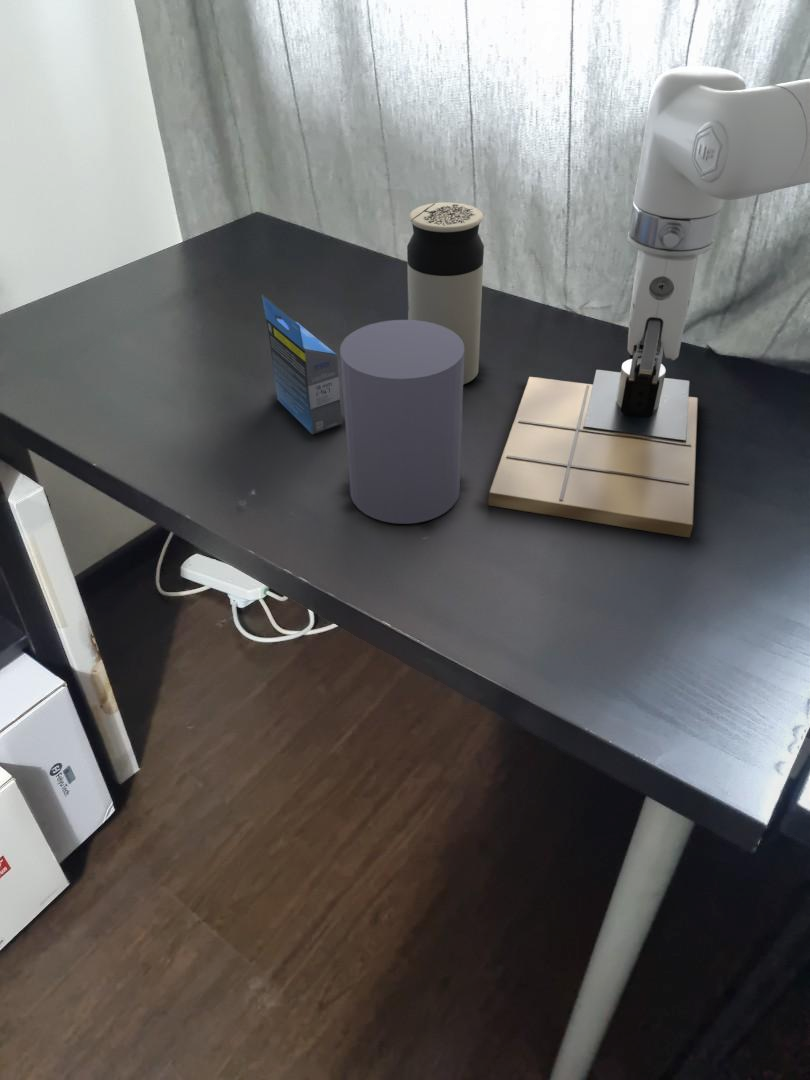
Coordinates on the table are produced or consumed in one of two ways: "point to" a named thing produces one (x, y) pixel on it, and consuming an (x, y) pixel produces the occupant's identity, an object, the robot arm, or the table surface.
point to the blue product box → (303, 372)
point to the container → (403, 418)
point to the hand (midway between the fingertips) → (638, 399)
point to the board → (601, 456)
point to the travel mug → (448, 273)
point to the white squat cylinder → (626, 372)
